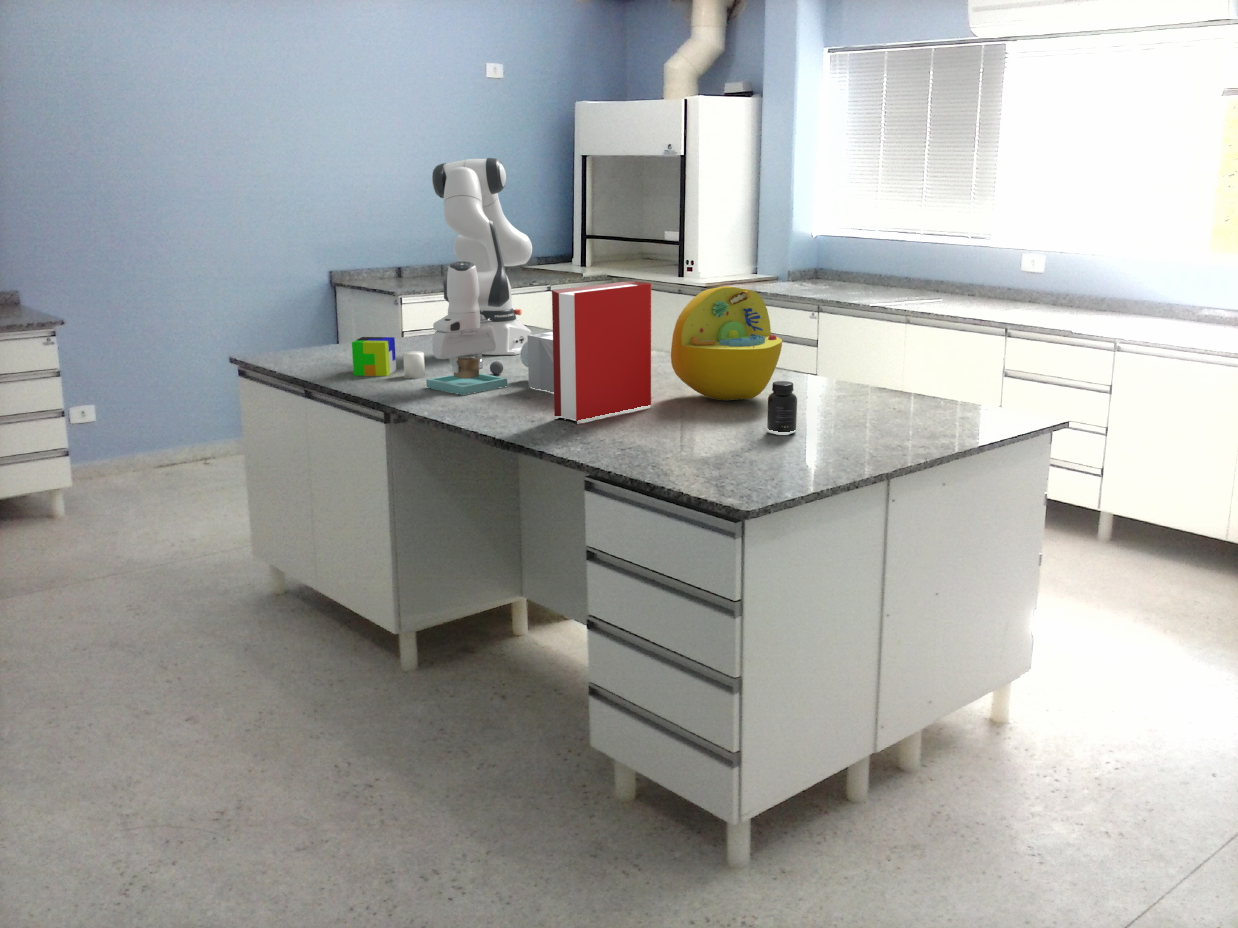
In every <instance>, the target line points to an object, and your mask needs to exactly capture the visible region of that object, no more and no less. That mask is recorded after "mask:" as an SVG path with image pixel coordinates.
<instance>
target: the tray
mask: <svg viewBox="0 0 1238 928" xmlns="http://www.w3.org/2000/svg"><path fill="white" fill-rule="evenodd" d="M425 380H426V382H425V383H426V388H427V387H428V388H427V389H430V388H431V390H435V389H436V391H439V390H442V391H441V392H444V391H445V392H446V393H449V392H452V393H451V394H453V393H458V394H462V395H461V396H463V395H464V396H466V395H465V394H468V393H474V392H479V393H482V392H481V391H484V390H489V391H491V390H490V389H494V390H497V389H496V388H499V387H504V388H506V387H505V386H507V387H508V378H507V377H502V376H498V375H493V374H492V375H491V374H485V373H480V372H479V377H473V378H468V379H463V378H458V377H454V373H453V374H449V375H443V376H437V377H433V378H427V379H425ZM499 389H500V388H499ZM484 392H485V391H484ZM458 394H457V395H458ZM474 394H475V393H474Z"/></svg>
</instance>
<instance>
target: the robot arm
mask: <svg viewBox="0 0 1238 928" xmlns="http://www.w3.org/2000/svg"><path fill="white" fill-rule="evenodd" d="M506 181H507V173H506V169H505V168H504V165H503V163H502V162H501V161H500V160H499V159H498V158H494V157H487V158H466V159H463V160H457V161H452V162H449V163H447V162H443V163H439V164H438V165H437V164H436V166H435V167H434V169H432V177H431V184H432V187H433V190H434V193H435V195H436V196H438V197H439V198H440V199H443V216H444V221H445V223H446V224H447V226H448V228H449V229H450V230H451V231H453V232H454V233H456V234H457V237H456V238H455V240H454V243H453V254H454V256H455V258H456V259H457V261H456V262H452V263H450V264H448V267H447V268H448V269H447V274H446V275H447V276H446V277H445V278H444V279H443V281H442V284H443V285H442V286H443V299H444V300H445V301H446V302H447V303H448V306H447V307H448V308H447V315H445V316H444V317H442V318H441V319H439V320H437V321H435V322H433V324H432V327H433V330H434V331H435V332H434V333H433V335H432V354H433V356H434V358H436V359H437V360H447V359H448V361H449V363H450V365H451V366H452V371H453V374H454V373H459V372H461V366H458V364H457V362H456V361H458V358H461V357H467V356H470V355H473V356H472V357H475V358H477V359H479V362H480V360H481V358H483V355H487V356H489V355H490V356H498V355H499V356H503V355H504V356H505V355H507V356H515V355H520V353H521V349H522V346H523V345H524V343H525V342H526V341H528V337H527V335H533V334H532V333H533V332H532V331H531V329H530V328H528V327H527V326H525V325H524V324H523V323H522V322H520V321H519V320H518V319H517V316H521V315H522V314H523V310H522V309H521V308H515V309H513V304H512V303H513V301H512V300H513V299H512V286H511V283H510V280H509V277H508V276H507V273H506V267H516V266H520V265H525V264H527V263H528V262H529V261H530V259H531V257H532V253H533V245H532V241H531V239H530V237H529V236H528V235H527V234H525V233H524V232H522V231H520V230H518V229H517V228H516V227H515V226H513V225H512V224H511V222H510V221H509V220H508V218H507V217H506V216H505V213H504V211H503V209H502V205H501V203H500V202H501V201H500V198H499V193H500V192H502V191H503V190H504V189H505V186H506Z"/></svg>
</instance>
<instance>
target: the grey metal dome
mask: <svg viewBox="0 0 1238 928" xmlns="http://www.w3.org/2000/svg"><path fill="white" fill-rule="evenodd" d="M470 357H471V358H475V356H470ZM483 362H484V361H483V357H482V358H481V360H480V362H479V370H482V369H484V363H483Z"/></svg>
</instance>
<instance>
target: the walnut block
mask: <svg viewBox="0 0 1238 928" xmlns="http://www.w3.org/2000/svg"><path fill="white" fill-rule="evenodd" d="M471 357H472V356H461V357H458V361H456V362H457V364H458V366H461V372H459V373H454V372H453V374H454V377H458V378H463V379H468V378H473V377H479V373H480V369H479V359H477V358H471Z"/></svg>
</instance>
